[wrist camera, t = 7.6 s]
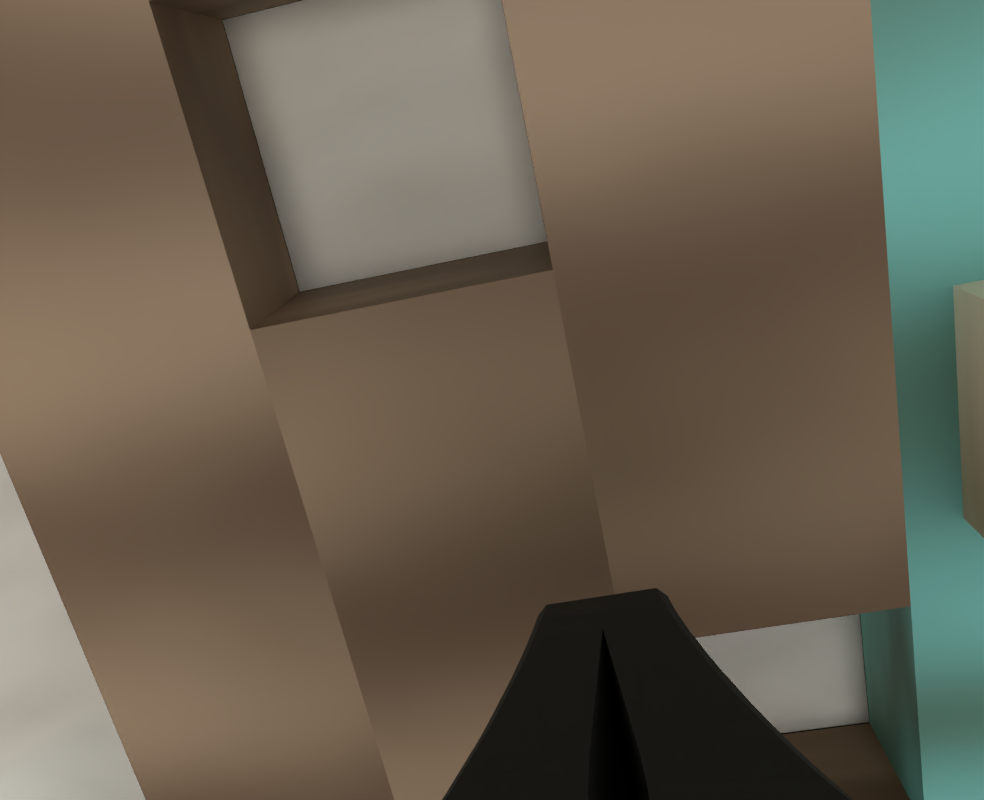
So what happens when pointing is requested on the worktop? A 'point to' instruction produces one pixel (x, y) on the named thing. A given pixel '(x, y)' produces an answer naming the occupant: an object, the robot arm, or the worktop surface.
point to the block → (971, 396)
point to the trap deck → (499, 386)
